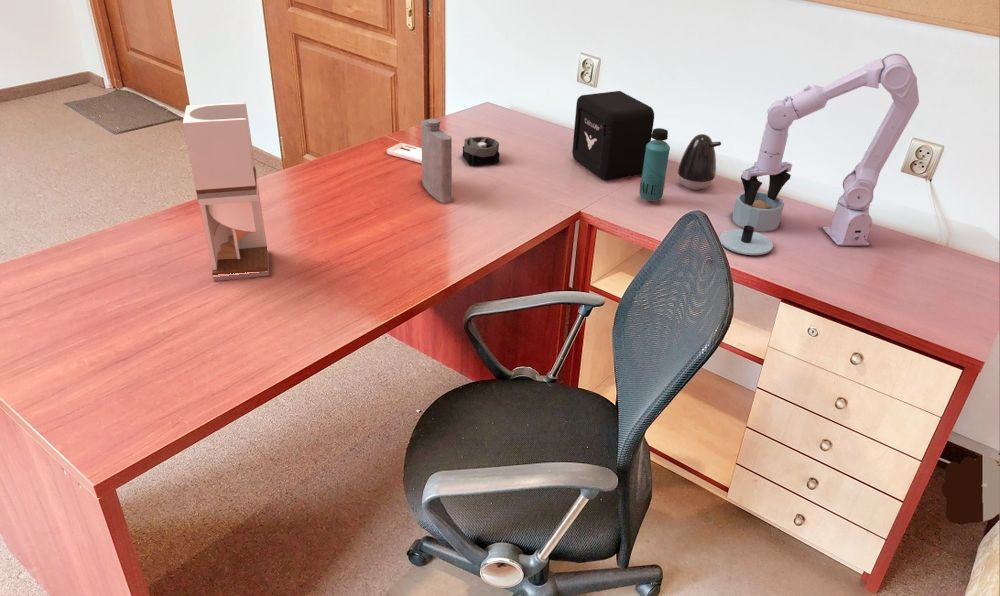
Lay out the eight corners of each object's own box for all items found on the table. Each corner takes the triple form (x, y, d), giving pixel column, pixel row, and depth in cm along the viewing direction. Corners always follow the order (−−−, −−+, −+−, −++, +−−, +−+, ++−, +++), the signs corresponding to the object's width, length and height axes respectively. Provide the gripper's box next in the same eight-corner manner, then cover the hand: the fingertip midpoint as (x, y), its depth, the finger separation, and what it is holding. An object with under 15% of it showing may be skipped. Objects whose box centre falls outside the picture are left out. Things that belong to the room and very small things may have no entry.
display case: (213, 281, 163) (182, 122, 144) (215, 257, 171) (186, 105, 153) (268, 275, 165) (245, 119, 147) (268, 252, 174) (245, 102, 155)
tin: (787, 228, 193) (793, 207, 190) (748, 233, 190) (753, 212, 187) (761, 209, 203) (766, 189, 200) (723, 214, 199) (727, 193, 196)
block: (768, 221, 195) (771, 206, 193) (755, 224, 194) (758, 209, 191) (756, 215, 199) (759, 199, 196) (743, 217, 197) (746, 202, 195)
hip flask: (453, 202, 200) (453, 129, 190) (439, 204, 199) (438, 131, 188) (431, 179, 212) (430, 109, 202) (417, 181, 211) (415, 111, 200)
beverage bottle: (661, 196, 208) (672, 126, 197) (663, 207, 202) (674, 134, 191) (637, 195, 208) (647, 124, 197) (638, 205, 202) (648, 133, 192)
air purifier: (567, 159, 229) (573, 93, 218) (609, 152, 234) (616, 88, 224) (602, 184, 213) (610, 115, 203) (646, 177, 219) (655, 109, 208)
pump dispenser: (703, 197, 208) (714, 144, 200) (669, 187, 213) (678, 135, 205) (719, 185, 215) (729, 134, 207) (685, 176, 220) (694, 125, 212)
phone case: (386, 153, 228) (426, 165, 221) (385, 149, 227) (426, 160, 220) (401, 146, 233) (441, 157, 227) (401, 142, 232) (441, 153, 226)
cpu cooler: (502, 146, 220) (469, 149, 217) (502, 165, 223) (469, 168, 220) (492, 134, 228) (460, 136, 226) (492, 152, 231) (459, 155, 229)
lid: (782, 253, 182) (787, 236, 179) (737, 260, 178) (741, 242, 176) (752, 230, 192) (756, 213, 189) (708, 236, 188) (712, 219, 186)
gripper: (781, 141, 192) (770, 190, 199) (738, 149, 186) (727, 199, 193) (802, 150, 187) (789, 201, 194) (758, 159, 181) (746, 210, 188)
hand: (760, 201), depth 193 cm, fingers open, 7 cm apart
